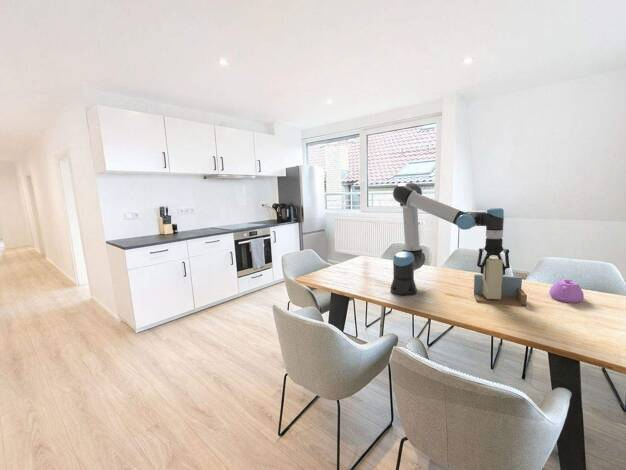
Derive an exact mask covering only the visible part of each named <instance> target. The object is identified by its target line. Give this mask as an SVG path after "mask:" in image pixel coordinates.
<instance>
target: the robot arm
mask: <svg viewBox="0 0 626 470" xmlns="http://www.w3.org/2000/svg"><path fill="white" fill-rule="evenodd" d="M392 197H393V199H394V200H395V201H396V202H397V203H398V204H399V206H400V207H401V208H402V214H403V215H402V217H403V231H404V232H403V233H404V247H402V251H399V252H396V253H394V255H393V260H392V264H393V265H392V266H393V279H392V282H391V285H390V293H392V294H394V295H396V296H403V297H406V296H408V297H409V296H414V295H415V294H417V293H418V288H417V286H416V282H415V279H414V277H415V276H414V275H415V274H414V273H415V271H416V270H418V269H421V268H422V267H423V265H425V263H426V255H425V253H424V251H423V247H422V246H421V245H420V229H419V212H418V210H421V211H423V212H425V213H428V214H430V215H432V216H434V217H436V218H439V219H442V220H444V221H446V222H449V223H451V224H454V225H456V227H458V229H460V230H465V231H466V230H470V229H472V228H474V227H485V237H486V238H485V246H484V247H482V248H481V247H479V248H478V252H479V253H478V256H477V257H478V258H477V262H476V266H477V267H478V268H480V274H481V275H483V280H485V267H484V266H485V264H486V262H487V259H488V258H489V257H493V256H494V257H498V259H501V260H503V258H502V256H501V253H502V252H503V254H504V259H505V260H504V261H505V264H504V262H503V267H502V279H503V276H506V269H510V267H511V265H510V258H509V256H510V255H509V253H510V249H509V248H504V247H503V239H504V238H503V237H504V236H503V235H504V223H505V222H504V221H505V218H504V217H505V216H504V215H505V214H504V213H505V212H504V209H503V208H501V207H488V208H487V210H486V211H462V210H460V209H457V208H455V207H452V206H450V205H448V204H445V203H443V202H440V201H438V200H435V199H433V198H430V197H428V196H425V195H423V191H422V188H421V186H420V185H419V184H417V183H414V182H404V183H403V182H402V183H398V184H397V185H396V186H395V187H394V188H393V190H392ZM484 252H486V254H485V256H484V257H485V258H484V257H483V253H484ZM482 258H483V261H482Z"/></svg>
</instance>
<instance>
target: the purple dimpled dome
mask: <svg viewBox="0 0 626 470" xmlns="http://www.w3.org/2000/svg"><path fill="white" fill-rule="evenodd" d="M548 292H549V296H550V297H551V298H552V299H554V300H556V301H559V302H564V303H570V304H571V303H572V304H577V302H578V303H580V302H582V301H583V300H585V299H584V298H585V296H584V291H583V290H582V288H581V287H580V285H579V284H578V283H577V282H574V281H573V280H571V279H568V278H563V279H562V280H557V281H555V283H554V284H552V286H551V287H550V289H549V291H548Z"/></svg>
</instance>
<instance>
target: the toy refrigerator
mask: <svg viewBox="0 0 626 470" xmlns="http://www.w3.org/2000/svg"><path fill="white" fill-rule="evenodd" d="M484 258H485V256H484V257H483V259H484ZM503 263H504V261H503V259H502V260H501V259H498V257H497V256H490V257H489V258H488V259H487V262H486V264H485V266H484V267H485V280H483V295H484V296H485V297H486V298H487V299H501V289H502V267H503Z"/></svg>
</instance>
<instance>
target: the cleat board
mask: <svg viewBox="0 0 626 470" xmlns="http://www.w3.org/2000/svg"><path fill="white" fill-rule="evenodd" d="M473 277H474V278H473V279H474V280H473V297H474V299H475V302H476V303H481V304H482V303H483V304H491V305H492V304H493V305H503V306H505V305H506V306H514V307H515V306H516V307H525V308H526V307H527V297H528V295H527V294H526V292H525V291H524V290H523V289H522V285H523V283H522V282H523V277H522V276H515V275H513V276H512V275H503V279H502V289H501V299H487V298H486V297H485V296H484V295H483V274H481V273H480V274H479V273H474V276H473Z"/></svg>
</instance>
